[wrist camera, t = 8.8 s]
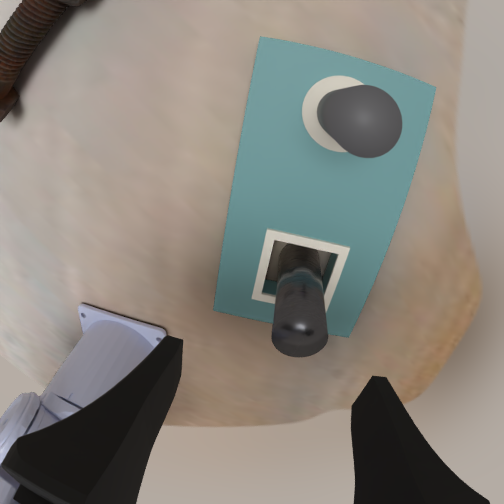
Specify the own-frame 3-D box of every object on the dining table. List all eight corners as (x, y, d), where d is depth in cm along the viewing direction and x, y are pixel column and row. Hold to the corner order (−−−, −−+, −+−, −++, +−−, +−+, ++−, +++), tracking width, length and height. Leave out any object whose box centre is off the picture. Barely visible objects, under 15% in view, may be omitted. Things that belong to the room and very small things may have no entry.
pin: (313, 279, 20) (318, 360, 14) (275, 271, 20) (266, 352, 14) (323, 245, 19) (335, 321, 12) (283, 237, 19) (278, 311, 13)
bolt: (150, -48, 12) (18, 103, 17) (104, -83, 9) (-23, 74, 14) (144, -58, 9) (-12, 138, 14) (85, -100, 5) (-60, 104, 10)
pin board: (346, 323, 21) (358, 404, 15) (217, 296, 21) (190, 374, 15) (425, 87, 13) (495, 88, 7) (262, 41, 14) (242, 4, 8)
